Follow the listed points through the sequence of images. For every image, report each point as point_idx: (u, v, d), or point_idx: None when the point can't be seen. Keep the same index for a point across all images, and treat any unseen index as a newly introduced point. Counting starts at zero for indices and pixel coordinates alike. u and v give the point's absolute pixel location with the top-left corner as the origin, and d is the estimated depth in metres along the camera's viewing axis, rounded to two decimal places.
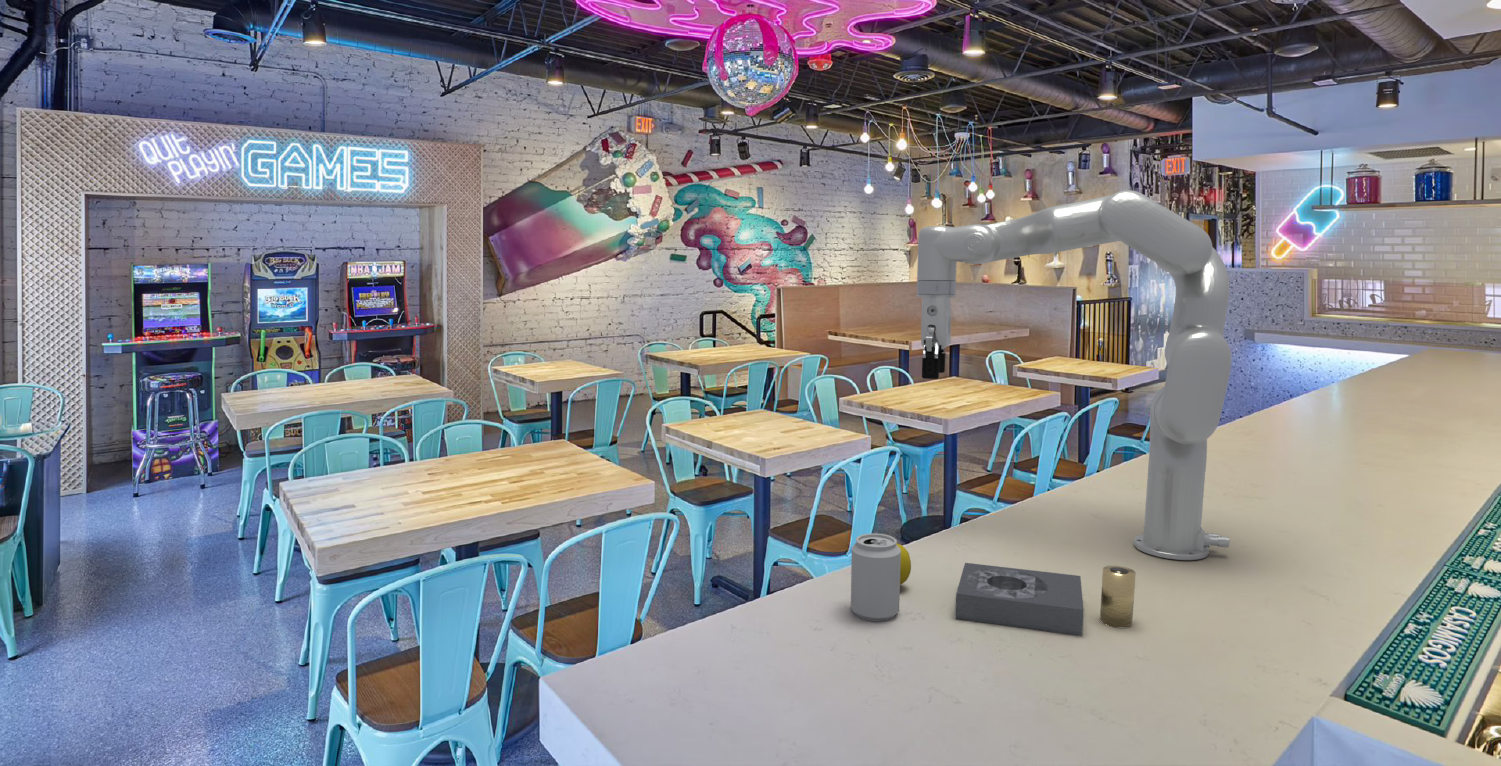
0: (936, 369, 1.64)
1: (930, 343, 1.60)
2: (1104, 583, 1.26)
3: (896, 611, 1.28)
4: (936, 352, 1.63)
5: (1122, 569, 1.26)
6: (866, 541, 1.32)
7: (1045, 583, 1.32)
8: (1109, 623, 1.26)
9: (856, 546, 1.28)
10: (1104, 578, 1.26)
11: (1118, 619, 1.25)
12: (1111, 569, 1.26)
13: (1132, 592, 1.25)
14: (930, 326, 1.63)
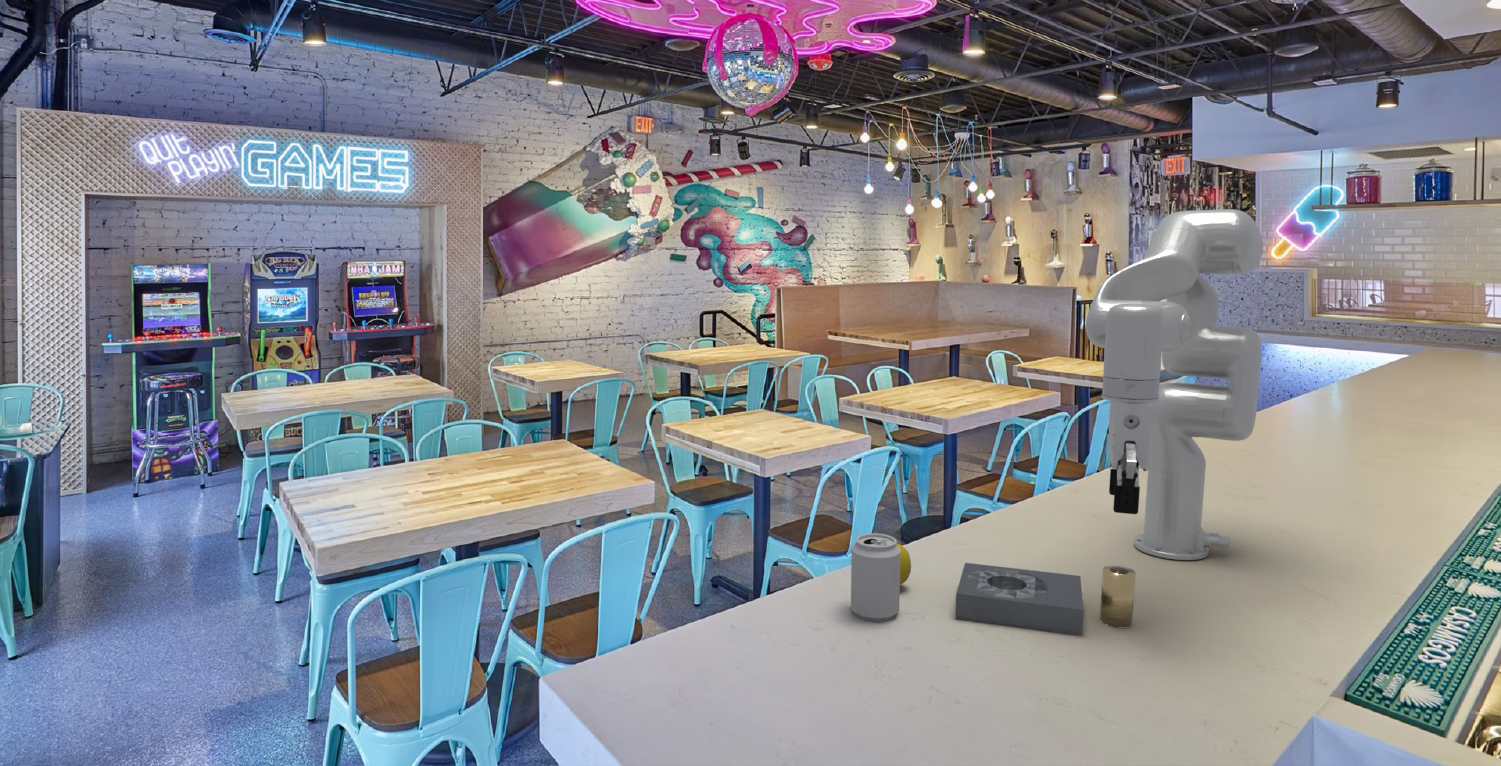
0: (1135, 501, 1.19)
1: (1133, 469, 1.16)
2: (1104, 583, 1.26)
3: (896, 611, 1.28)
4: (1137, 479, 1.18)
5: (1122, 569, 1.26)
6: (866, 541, 1.32)
7: (1045, 583, 1.32)
8: (1109, 623, 1.26)
9: (856, 546, 1.28)
10: (1104, 578, 1.26)
11: (1118, 619, 1.25)
12: (1111, 569, 1.26)
13: (1132, 592, 1.25)
14: (1128, 442, 1.19)
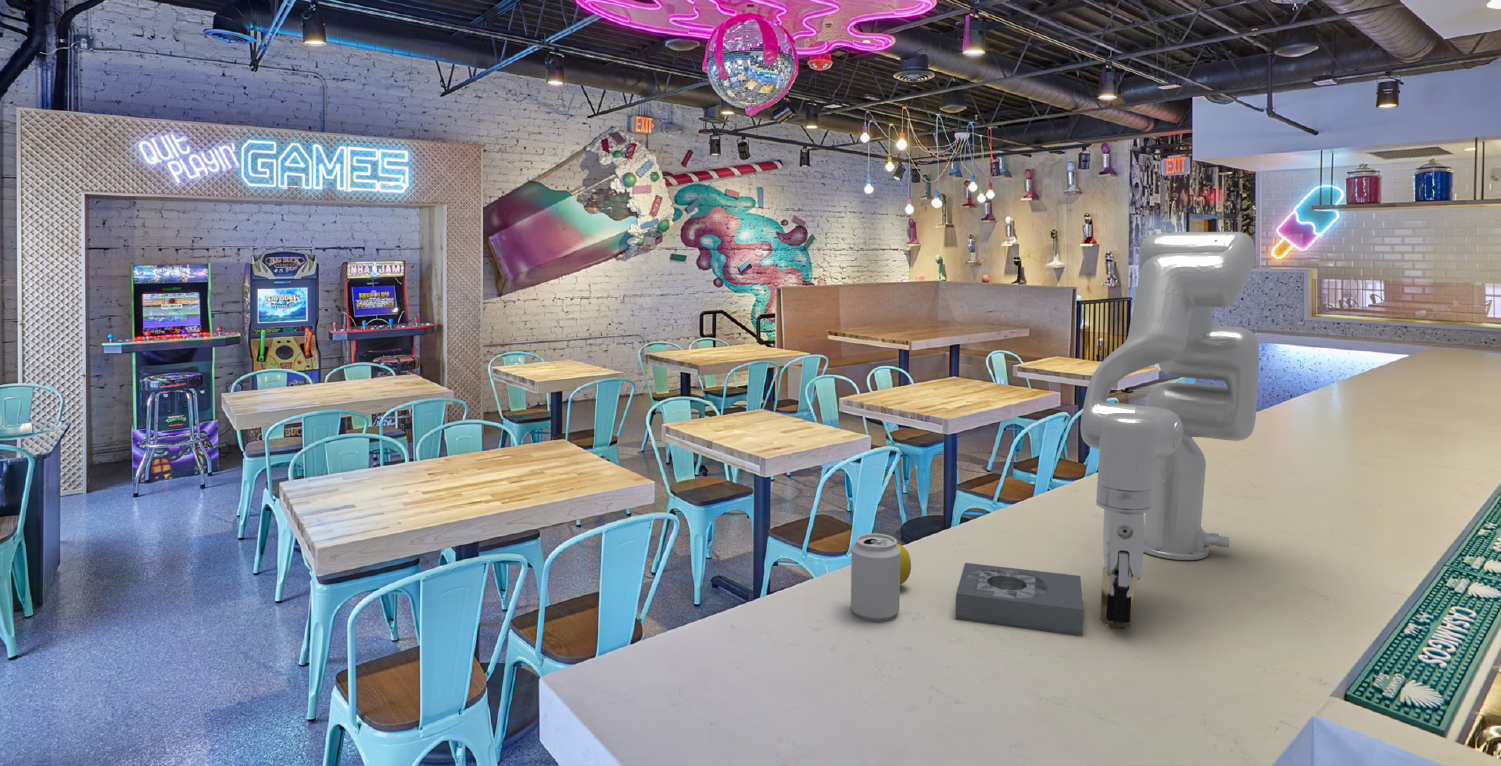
0: (1127, 610, 1.24)
1: (1124, 588, 1.20)
2: (1104, 583, 1.26)
3: (896, 611, 1.28)
4: (1129, 591, 1.22)
5: None
6: (866, 541, 1.32)
7: (1045, 583, 1.32)
8: (1109, 623, 1.26)
9: (856, 546, 1.28)
10: (1104, 578, 1.26)
11: None
12: None
13: (1132, 592, 1.25)
14: (1121, 556, 1.21)
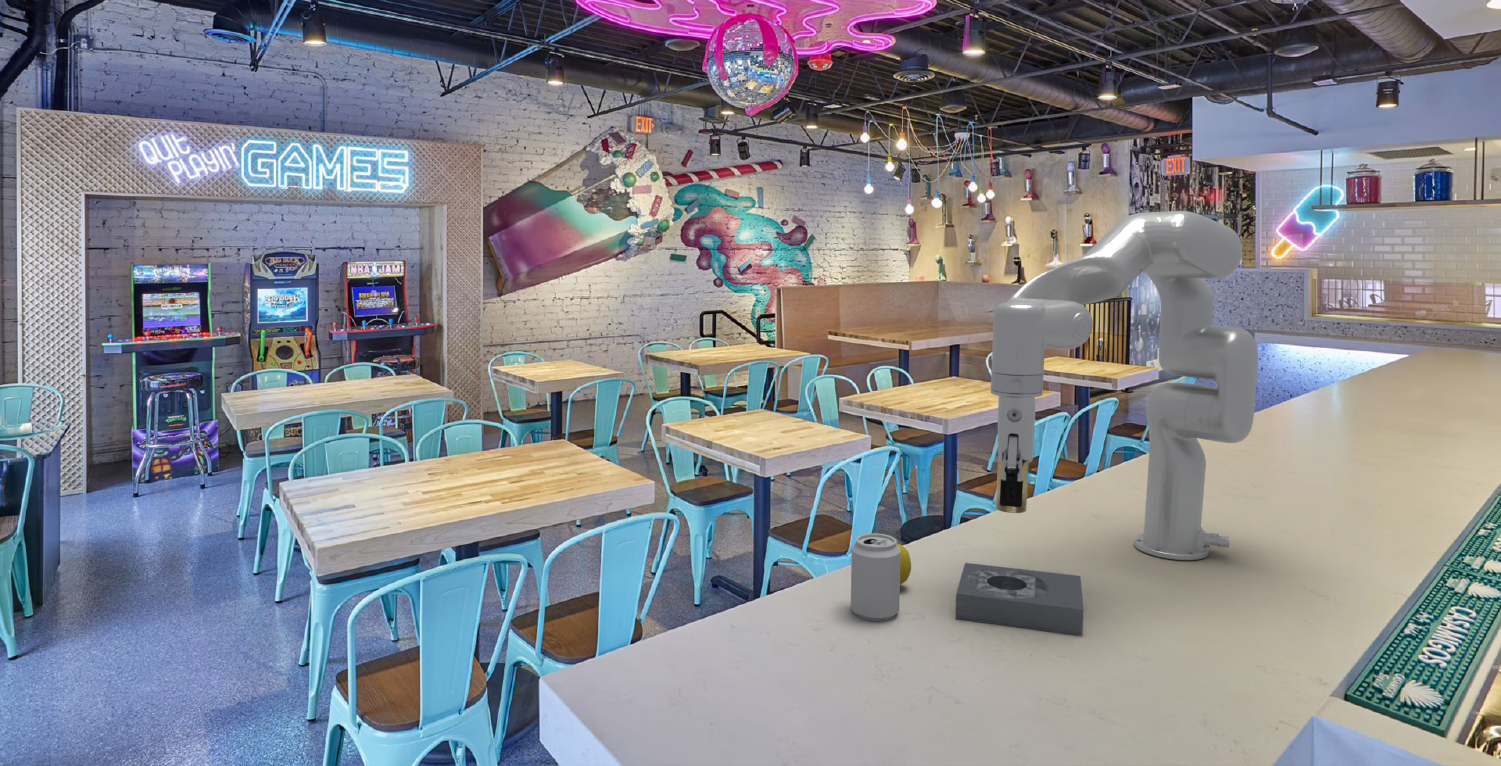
0: (1019, 495, 1.27)
1: (1013, 469, 1.23)
2: (998, 470, 1.29)
3: (896, 611, 1.28)
4: (1020, 475, 1.25)
5: None
6: (866, 541, 1.32)
7: (1045, 583, 1.32)
8: (1003, 509, 1.29)
9: (856, 546, 1.28)
10: (998, 465, 1.29)
11: None
12: (1006, 457, 1.29)
13: (1025, 478, 1.28)
14: (1011, 439, 1.24)
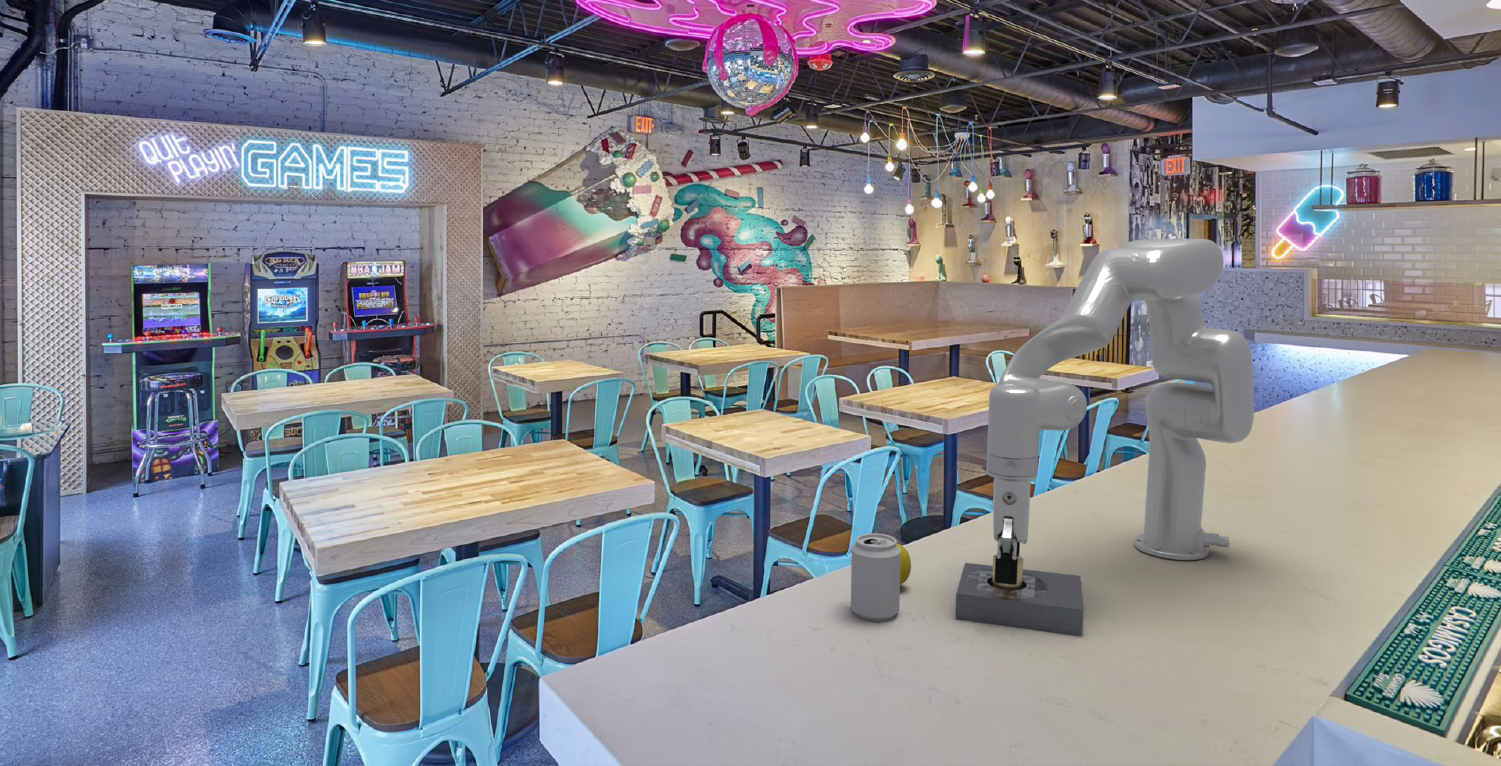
0: (1014, 572, 1.26)
1: (1008, 544, 1.23)
2: (993, 570, 1.31)
3: (896, 611, 1.28)
4: (1014, 552, 1.25)
5: None
6: (866, 541, 1.32)
7: (1045, 583, 1.32)
8: None
9: (856, 546, 1.28)
10: (993, 565, 1.31)
11: None
12: None
13: (1019, 578, 1.30)
14: (1006, 517, 1.26)
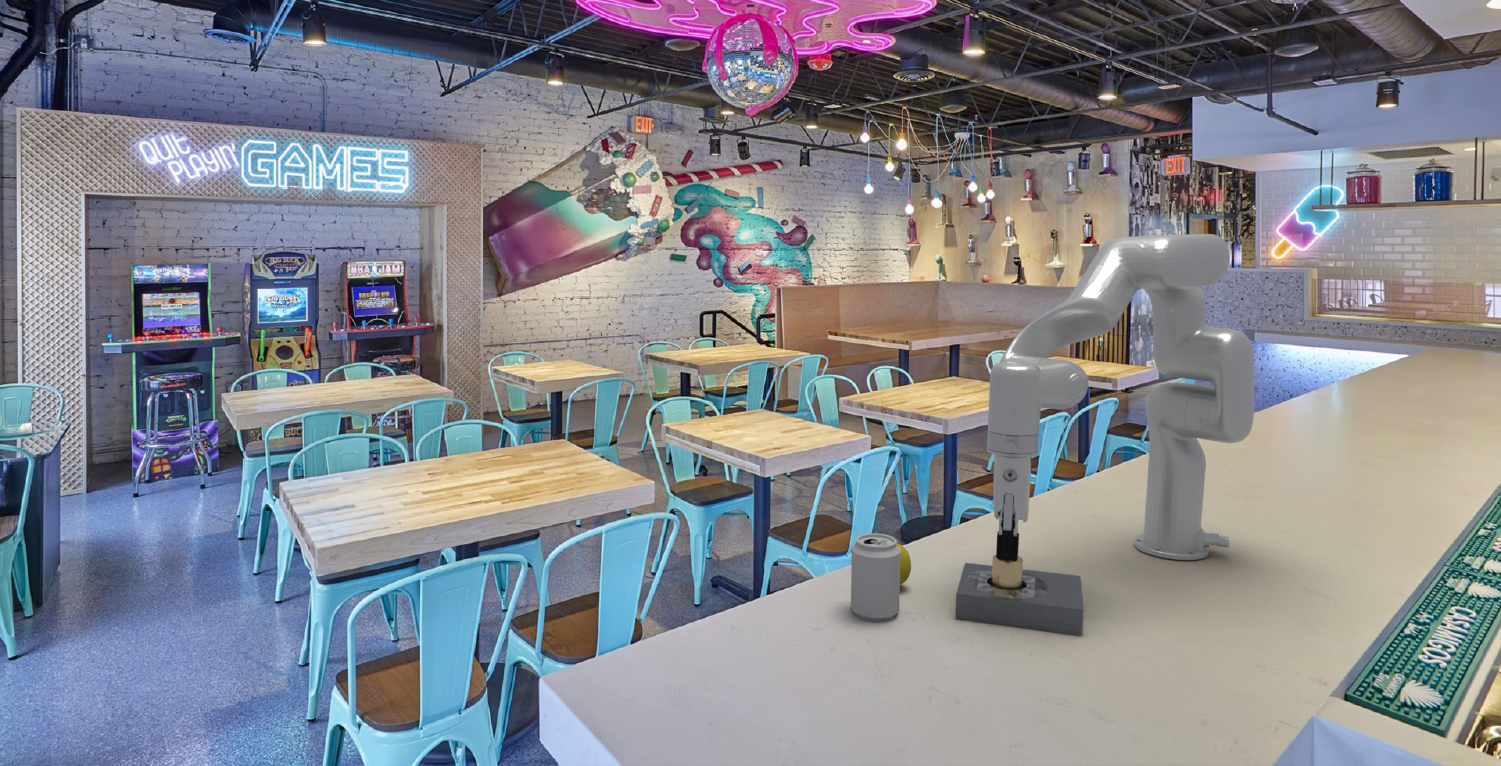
0: (1015, 549, 1.30)
1: None
2: (993, 570, 1.31)
3: (896, 611, 1.28)
4: (1015, 532, 1.28)
5: None
6: (866, 541, 1.32)
7: (1045, 583, 1.32)
8: None
9: (856, 546, 1.28)
10: (993, 565, 1.31)
11: None
12: None
13: (1019, 579, 1.30)
14: (1007, 501, 1.26)
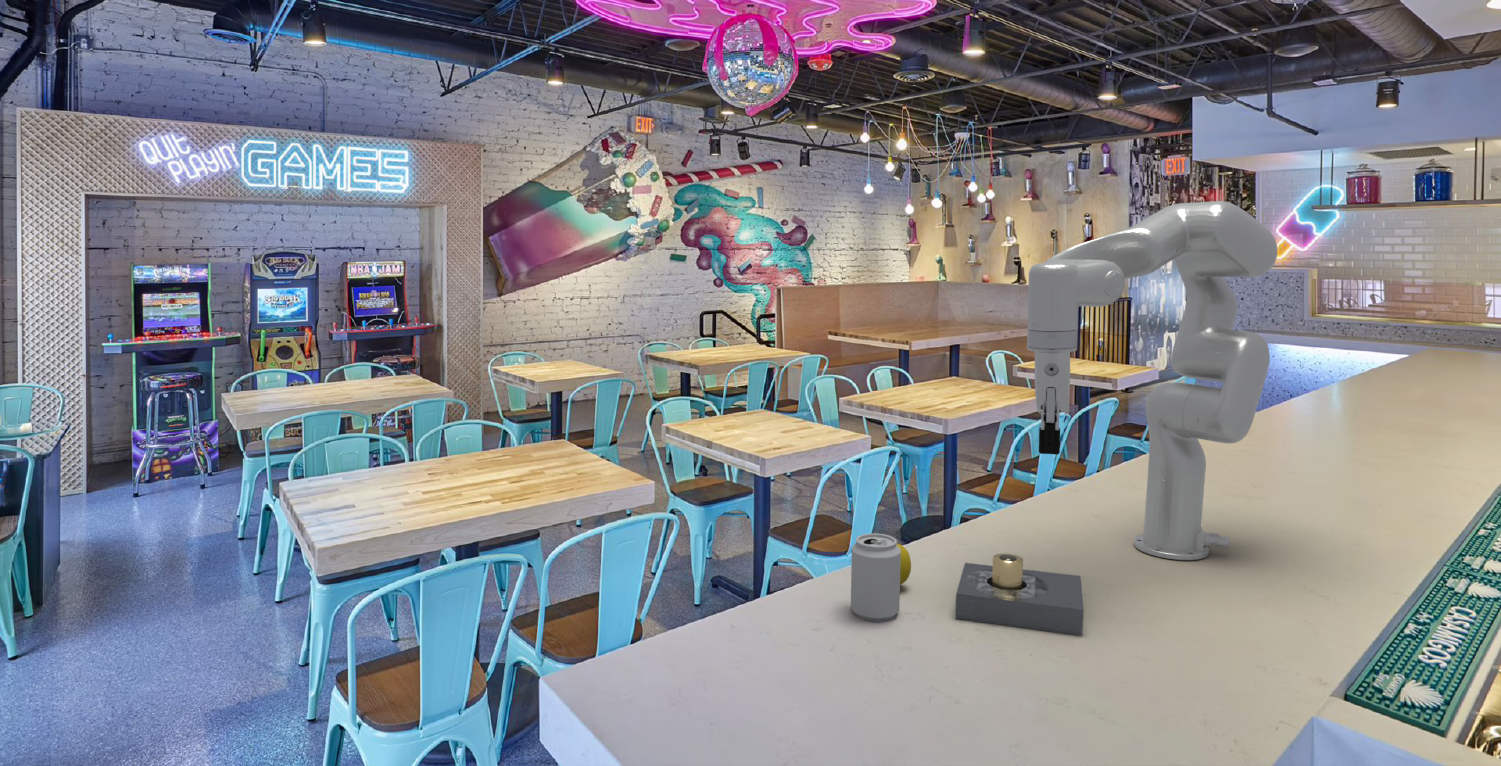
0: (1057, 443, 1.36)
1: None
2: (993, 570, 1.31)
3: (896, 611, 1.28)
4: (1057, 426, 1.34)
5: (1011, 557, 1.32)
6: (866, 541, 1.32)
7: (1045, 583, 1.32)
8: None
9: (856, 546, 1.28)
10: (993, 565, 1.31)
11: None
12: (1000, 557, 1.32)
13: (1019, 578, 1.30)
14: (1049, 395, 1.31)
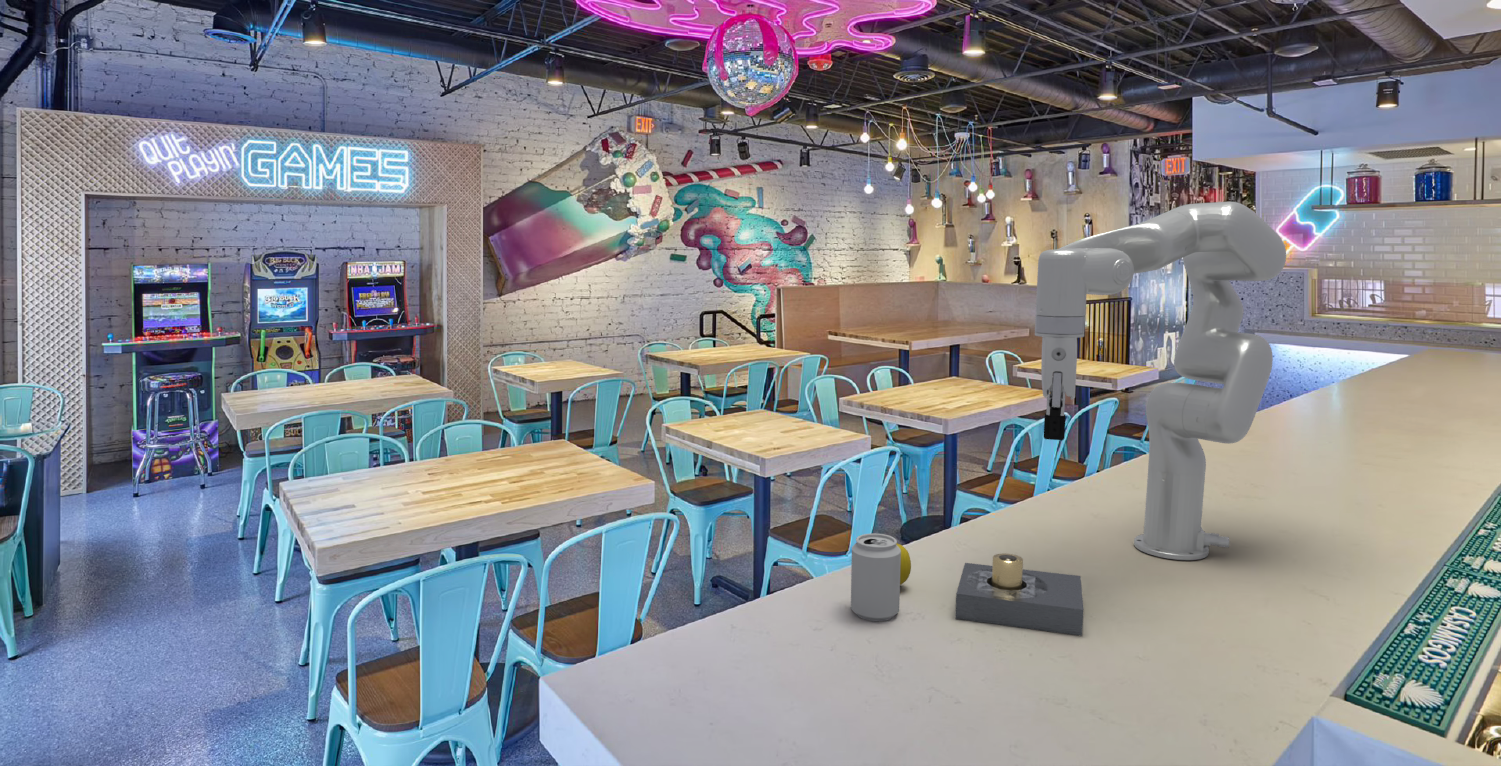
0: (1062, 428, 1.37)
1: (1057, 407, 1.33)
2: (993, 570, 1.31)
3: (896, 611, 1.28)
4: (1063, 411, 1.35)
5: (1011, 556, 1.32)
6: (866, 541, 1.32)
7: (1045, 583, 1.32)
8: None
9: (856, 546, 1.28)
10: (993, 565, 1.31)
11: None
12: (1000, 556, 1.32)
13: (1019, 578, 1.30)
14: (1055, 379, 1.33)
